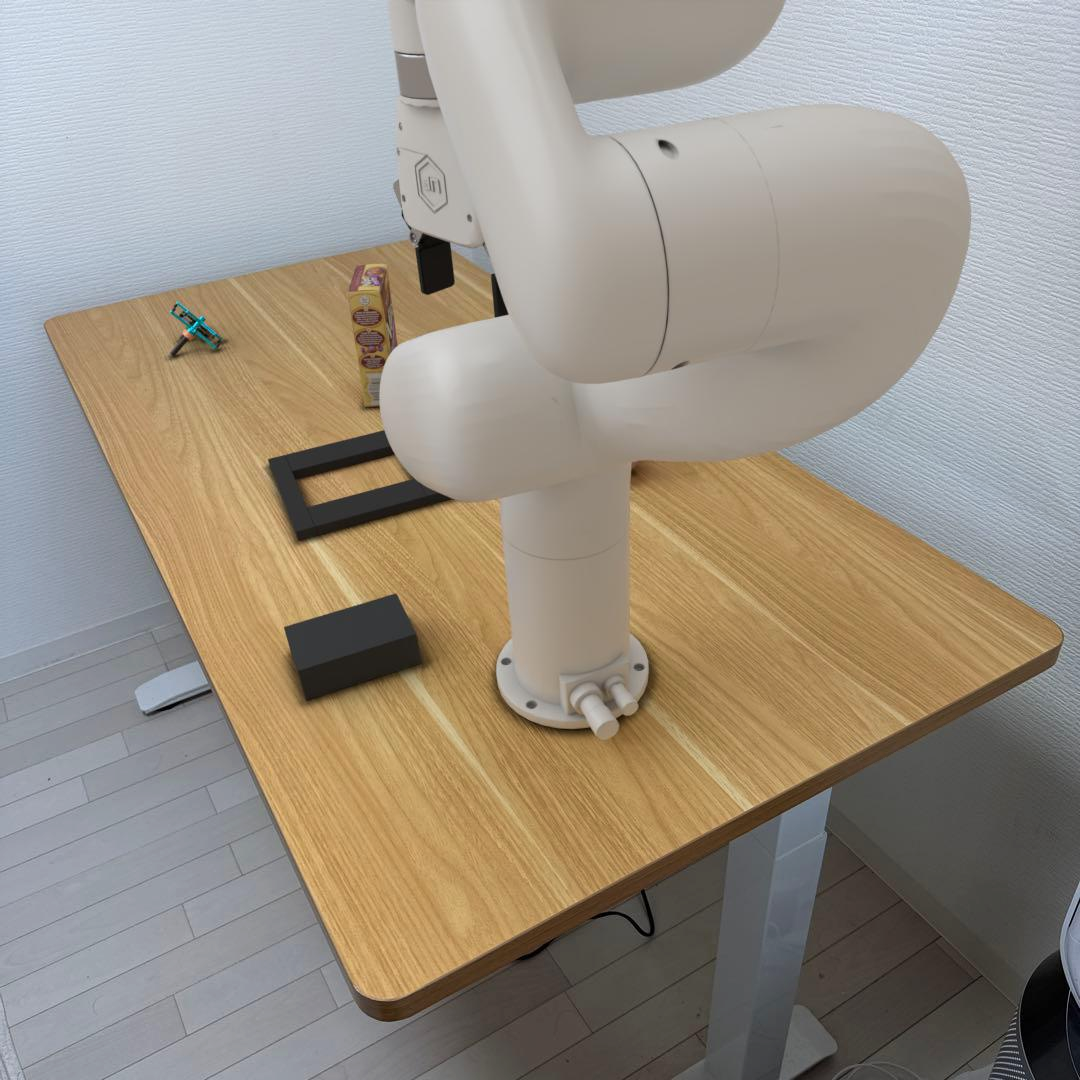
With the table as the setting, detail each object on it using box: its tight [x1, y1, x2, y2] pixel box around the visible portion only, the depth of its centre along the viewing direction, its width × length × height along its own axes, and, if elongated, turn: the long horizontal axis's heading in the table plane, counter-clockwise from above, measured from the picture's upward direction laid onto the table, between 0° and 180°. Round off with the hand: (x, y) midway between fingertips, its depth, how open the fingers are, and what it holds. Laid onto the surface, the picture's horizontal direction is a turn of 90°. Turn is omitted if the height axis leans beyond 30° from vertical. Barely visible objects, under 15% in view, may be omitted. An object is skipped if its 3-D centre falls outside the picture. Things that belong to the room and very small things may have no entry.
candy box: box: [346, 263, 399, 408], centre depth 119 cm, size 9×4×15 cm, turn 2°
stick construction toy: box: [169, 301, 223, 357], centre depth 138 cm, size 12×7×8 cm
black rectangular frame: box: [267, 429, 453, 541], centre depth 107 cm, size 16×22×1 cm
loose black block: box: [283, 592, 422, 701], centre depth 82 cm, size 6×10×3 cm, turn 113°
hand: (474, 303), depth 79 cm, fingers open, 9 cm apart
